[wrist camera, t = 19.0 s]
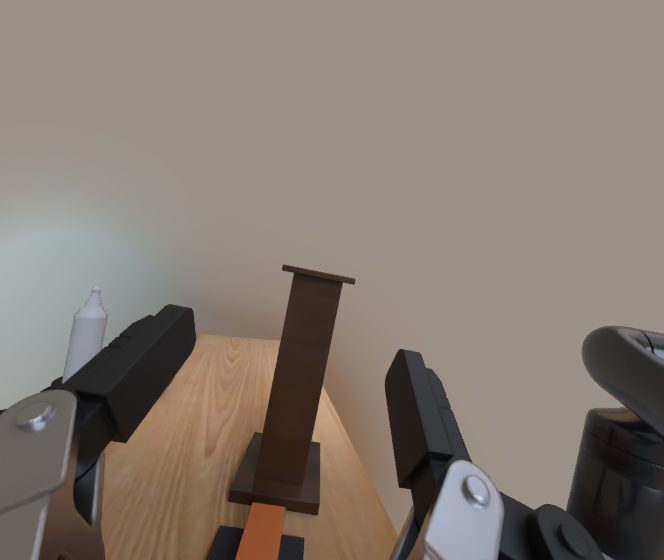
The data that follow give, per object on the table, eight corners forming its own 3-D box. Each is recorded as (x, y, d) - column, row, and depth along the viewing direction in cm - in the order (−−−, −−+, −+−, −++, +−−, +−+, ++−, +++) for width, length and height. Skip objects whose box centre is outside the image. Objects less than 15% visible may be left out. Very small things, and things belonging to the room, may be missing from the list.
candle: (98, 471, 33) (132, 288, 33) (68, 507, 28) (107, 292, 28) (52, 471, 32) (87, 281, 32) (11, 509, 27) (52, 284, 27)
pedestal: (253, 440, 45) (287, 265, 44) (318, 451, 45) (352, 278, 45) (227, 501, 33) (274, 262, 32) (317, 515, 33) (364, 280, 33)
